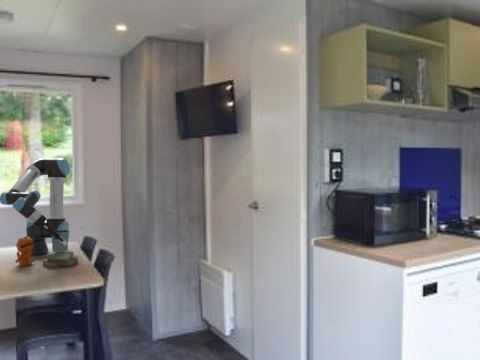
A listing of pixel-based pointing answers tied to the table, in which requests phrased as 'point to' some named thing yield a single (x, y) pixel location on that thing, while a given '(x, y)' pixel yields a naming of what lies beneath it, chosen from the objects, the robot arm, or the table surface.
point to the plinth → (60, 264)
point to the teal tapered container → (57, 244)
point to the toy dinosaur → (24, 251)
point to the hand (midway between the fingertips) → (65, 242)
